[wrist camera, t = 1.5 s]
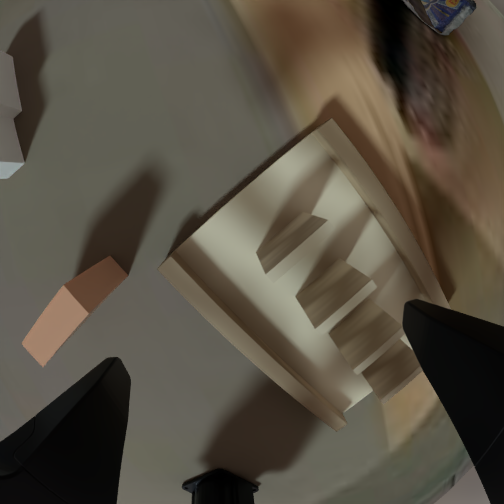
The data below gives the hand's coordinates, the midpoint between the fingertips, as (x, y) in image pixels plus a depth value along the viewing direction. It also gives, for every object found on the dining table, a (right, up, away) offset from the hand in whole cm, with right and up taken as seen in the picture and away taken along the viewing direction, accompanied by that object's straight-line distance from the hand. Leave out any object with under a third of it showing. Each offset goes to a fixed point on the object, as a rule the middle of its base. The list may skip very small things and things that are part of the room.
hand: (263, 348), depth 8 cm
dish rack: (+6, 0, +13) cm, 14 cm away
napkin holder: (-22, +14, +9) cm, 27 cm away
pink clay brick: (-12, 0, +12) cm, 17 cm away
